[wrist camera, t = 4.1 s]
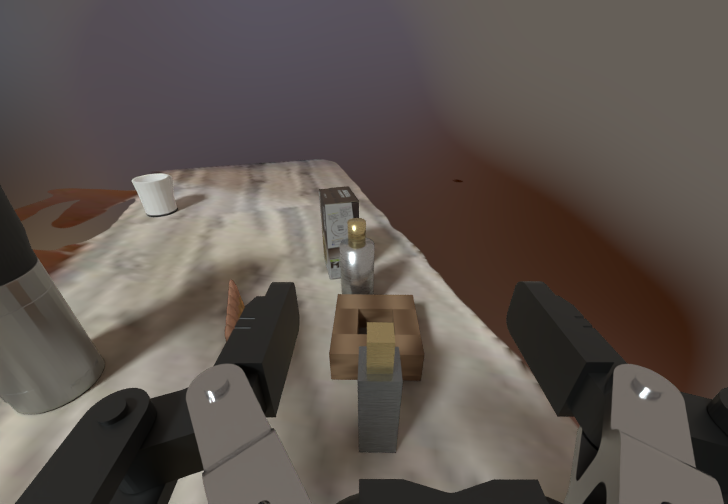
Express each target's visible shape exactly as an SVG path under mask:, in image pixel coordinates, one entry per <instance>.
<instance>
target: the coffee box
mask: <svg viewBox="0 0 728 504" xmlns="http://www.w3.org/2000/svg"><path fill="white" fill-rule="evenodd" d="M319 199H320V211H321V223H322V234H323V245H324V258H325V262H326V266H327V270H328V273H329V278H330V279H335V278H341V266H340V246H339V245H340V242H341V241H342V240H344V239H346V238H348V220H349V219H352V218H359V200H358V199H357V198H356V196H355V195H354V193H353V192H352V190H351V189H350V188H349V187H336V188H329V189H319Z"/></svg>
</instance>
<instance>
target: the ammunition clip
mask: <svg viewBox="0 0 728 504" xmlns="http://www.w3.org/2000/svg"><path fill="white" fill-rule="evenodd" d="M244 308H245V306H244V303H243V301H242V299H241V296H240V294H239V290H238V288H237V286H236V284H235V283H234V281H233V280H230V282H229V291H228V306H227V316H226V327H225V338H226V342H227V340H228V338H229V336H230V334H231V333H232V331H233V329H235V325H236V323H237V321H238V320H239V319H240V316H241V314H242V312H243V310H244Z"/></svg>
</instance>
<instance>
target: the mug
mask: <svg viewBox="0 0 728 504" xmlns="http://www.w3.org/2000/svg"><path fill="white" fill-rule="evenodd" d="M132 183H133V185H134V187H135V188H136V190H137V193H138V195H139V197H140V200H141V202H142V204H143V207H144V209H145V211H146V213H147V215H148V216H151V217H161V216H166V215H170V214H172V213H174V212H176V211H177V209H178V208H177V205H176V202H175V199H174V195H173V178H172V176H170V175H167V174H149V175H143V176H139V177H137V178H134V179H133V180H132Z"/></svg>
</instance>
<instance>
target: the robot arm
mask: <svg viewBox="0 0 728 504" xmlns="http://www.w3.org/2000/svg"><path fill="white" fill-rule="evenodd" d="M506 319H507V327H508V330H509V332H510V334H511V336H512V338H513V339H514V341H515V343H516V345H517V346H518V348H519V350H520V352H521V353H522V355H523V357H524V359H525V360H526V362H527V364H528V365H529V367H530V369H531V371H532V373H533V374H534V376H535V378H536V380H537V381H538V383H539V385H540V387H541V388H542V390H543V392H544V394H545V395H546V397H547V399H548V401H549V402H550V404H551V406H552V408H553V409H554V411H555V413H556V415H557V416H572V417H573V416H574V417H575V418H576V420H577V421H578V423H579V425H580V427H579V429H578V431H577V437H576V444H575V450H574V457H573V464H572V470H571V477H570V484H569V489H568V492H567V495H566V498H565V500H564V503H563V504H728V387H727V388H724V389H722V390H721V391H720V392H719V393H718V394H717V395H716V396H715V397H714V398H713V399H707V398H704V397H700V396H696V395H692V394H687V393H683V392H679V391H678V389H677V388H676V387H675V386H674V385H673V384H672V383H670V382H669V381H668V380H666V379H665V378H664V377H662V376H661V375H659V374H657V373H655V372H653V371H651V370H649V369H647V368H644V367H641V366H637V365H632V364H627V363H626V362H625V361H624V360H623V358H622V357H621V356H620V355H619V354H618V353H617V352H616V351H615V350H614V349H613V348H612V347H611V346H610V345H609V344H608V342H606V340H605V339H604V338H603V337H602V336H601V335H600V334H599V333H598V331H597V330H596V329H595V328H592V325H591V324H590V323H589V322H588V321H587V320H586V319H584V317H583V315H582V314H581V313H580V312H579V311H578V310H577V309H576V308H575V307H574V305H572V304H570V303H569V302H567V301H566V300H564V299H563V298H561V297H560V296H556V295H555V294H554V293H553V292H552V291H551V290H550V289H549V287H548V286H547V285H546V284H545V283H544V282H518V283H517V285H516V286H515V289H514V293H513V296H512V299H511V303H510V306H509V309H508V312H507V318H506ZM298 331H299V310H298V303H297V296H296V289H295V285H294V283H293V282H272V283H271V285H270V287H269V289H268V291H267V293H266V295H265V296H256V297H255V298H254V299H253V300H252V301H251V302H250V303H248V304H247V305H246V306H245V308H244V310H243V312H242V314H241V316H240V319H239V320H238V321H237V323H236V325H235V329H233V331H232V333H231V334H230V336H229V338H228V340H227V342H226V344H225V346H224V348H223V349H222V351H221V353H220V355H219V357H218V359H217V361H216V363H215V365H214V366H213V367H211V368H209V369H207V370H205V371H203V372H202V373H201V374H199V375H198V376H197V377H196V378H195V379H194V380H193V381H192V383H191V384H190V386H189V387H188V388H185V389H183V390H180V391H177V392H173V393H169V394H165V395H162V396H158V397H154V398H151V399H150V397H149V396H148V394H147V392H145V391H144V390H142V389H139V388H128V389H123V390H120V391H117V392H115V393H112V394H110V395H108V396H106V397H105V398H103V399H102V400H100V401H99V402H97V403H96V404H95V405H93V406H92V407H91V408H90V409H89V410H88V411H87V412H86V413H85V414H84V416H83V417H82V418H81V419H80V421H79V422H78V423H77V425H76V426H75V427H74V428H73V430H72V431H71V432H70V434H69V435H68V436H67V437H66V439H65V440H64V441H63V443H62V444H61V445H60V446H59V448H58V449H57V450H56V452H55V453H54V454H53V455H52V457H51V458H50V459H49V461H48V462H47V463H46V464H45V466H44V467H43V468H42V470H41V471H40V472H39V473H38V475H37V476H36V477H35V479H34V480H33V481H32V482H31V484H30V485H29V486H28V488H27V489H26V490H25V491H24V493H23V494H22V495H21V497H20V498H19V499H18V500H17V502H16V503H15V504H168V502H169V500H170V497H171V495H172V493H173V490H174V488H175V485H176V483H177V481H178V479H180V478H183V477H186V476H188V475H191V474H194V473H197V472H200V471H203V470H204V472H203V473H202V478H203V484H204V488H205V492H206V496H207V500H208V504H312V503H311V501H310V499H309V497H308V495H307V493H306V491H305V489H304V487H303V485H302V483H301V481H300V479H299V477H298V475H297V473H296V471H295V469H294V467H293V465H292V463H291V461H290V459H289V457H288V455H287V453H286V451H285V449H284V446H283V444H282V442H281V440H280V438H279V436H278V435H277V433H276V431H275V430H274V429H273V428H271V427H270V425H269V423H268V421H267V419H266V417H276V414H277V410H278V406H279V402H280V399H281V395H282V391H283V387H284V384H285V380H286V376H287V372H288V369H289V365H290V361H291V357H292V354H293V350H294V346H295V342H296V339H297V335H298ZM104 365H105V364H104V360H103V358H102V357H101V355H100V354H99V352H98V350H97V349H96V347H95V346H94V344H93V343H92V341H91V339H90V338H89V336H88V335H87V333H86V332H85V330H84V328H83V327H82V325H81V324H80V322H79V321H78V319H77V318H76V316H75V315H74V313H73V311H72V310H71V308H70V307H69V305H68V304H67V302H66V301H65V299H64V298H63V296H62V294H61V293H60V291H59V290H58V288H57V287H56V285H55V284H54V282H53V281H52V279H51V278H50V276H49V275H48V273H47V272H46V270H45V269H44V267H43V265H42V264H41V262H40V261H39V259H38V258H37V256H36V255H35V253H34V252H33V250H32V248H31V246H30V243H29V240H28V237H27V235H26V231H25V229H24V227H23V225H22V223H21V221H20V219H19V218H18V216H17V214H16V212H15V211H14V209H13V207H12V205H11V204H10V202H9V200H8V198H7V196H6V195H5V193H4V191H3V189H2V188H1V185H0V397H1V398H2V399H3V400H4V401H5V402H8V403H9V404H10V405H11V406H12V407H13V408H14V409H15V410H16V411H17V412H18V413H21V414H31V415H32V414H38V413H43V412H46V411H50V410H53V409H55V408H58V407H60V406H62V405H64V404H66V403H68V402H70V401H72V400H73V399H75V398H76V397H78V396H79V395H81V394H82V393H84V392H85V391H86V390H87V389H89V388H90V387H91V386H92V385H93V384H94V383H95V382H96V381H97V379H98V378H99V377H100V375H101V373H102V371H103V369H104ZM336 504H562V503H561V502H558V501H556V500H554V499H551V498H549V497H546V496H545V495H544V493H543V491H542V489H541V486H540V484H539V482H538V480H491V481H488V482H485V483H482V484H479V485H476V486H473V487H470V488H467V489H464V490H462V491H459V492H455V493H447V492H443V491H440V490H437V489H433V488H430V487H427V486H424V485H420V484H417V483H414V482H410V481H407V480H404V479H359V493H358V494H355V495H352V496H349V497H347V498H345V499H343V500H341V501H339V502H338V503H336Z"/></svg>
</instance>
